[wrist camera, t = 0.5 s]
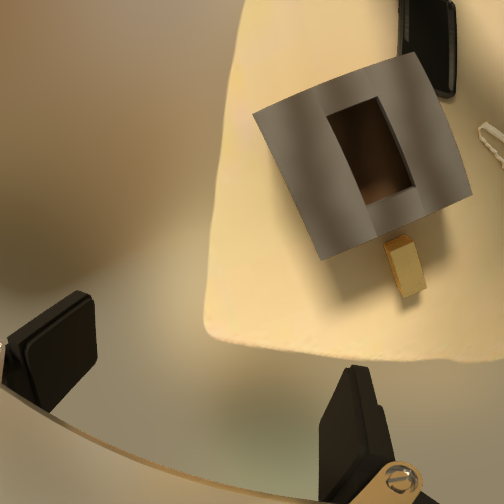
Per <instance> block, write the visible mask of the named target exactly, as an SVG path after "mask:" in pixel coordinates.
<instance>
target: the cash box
mask: <svg viewBox="0 0 504 504" xmlns="http://www.w3.org/2000/svg"><path fill="white" fill-rule="evenodd" d="M252 115H253V117H254V119H255V121H256V123H257V125H258V127H259V129H260V131H261V133H262V135H263V137H264V139H265V141H266V143H267V145H268V147H269V149H270V151H271V153H272V155H273V157H274V159H275V161H276V163H277V165H278V167H279V169H280V171H281V174H282V176H283V178H284V180H285V182H286V184H287V186H288V188H289V191H290V193H291V195H292V197H293V199H294V201H295V204H296V206H297V208H298V210H299V212H300V215H301V217H302V219H303V221H304V223H305V226H306V228H307V230H308V233H309V235H310V237H311V239H312V242H313V244H314V246H315V249H316V251H317V253H318V255H319V258H320V260H324V259H326V258H329V257H331V256H334V255H336V254H338V253H341V252H343V251H346V250H348V249H350V248H353V247H355V246H358V245H360V244H362V243H365V242H367V241H369V240H372V239H374V238H376V237H379V236H381V235H383V234H386V233H388V232H390V231H393V230H395V229H397V228H400V227H402V226H404V225H406V224H409V223H411V222H413V221H416V220H418V219H420V218H422V217H425V216H427V215H429V214H431V213H434V212H436V211H438V210H440V209H442V208H445V207H447V206H449V205H451V204H453V203H456V202H458V201H460V200H462V199H464V198H467V197H469V196H471V195H472V191H471V188H470V184H469V181H468V177H467V174H466V171H465V168H464V165H463V162H462V159H461V156H460V153H459V150H458V147H457V144H456V142H455V139H454V136H453V134H452V131H451V129H450V126H449V123H448V121H447V119H446V116H445V114H444V111H443V109H442V107H441V104H440V102H439V100H438V98H437V96H436V93H435V91H434V89H433V87H432V85H431V83H430V81H429V79H428V77H427V75H426V73H425V71H424V69H423V67H422V65H421V63H420V61H419V59H418V57H417V56H416V54H415V52H411V53H408V54H405V55H401V56H398V57H395V58H391V59H388V60H385V61H382V62H379V63H376V64H373V65H370V66H367V67H364V68H362V69H359V70H356V71H353V72H350V73H348V74H345V75H342V76H340V77H337V78H334V79H332V80H329V81H327V82H324V83H322V84H319V85H317V86H314V87H312V88H309V89H307V90H305V91H302V92H300V93H298V94H295V95H293V96H291V97H288V98H286V99H284V100H282V101H279V102H277V103H275V104H273V105H271V106H269V107H266V108H264V109H262V110H260V111H258V112H256V113H254V114H252Z"/></svg>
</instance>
